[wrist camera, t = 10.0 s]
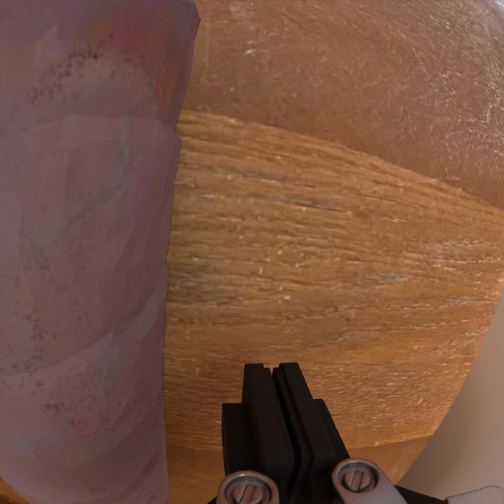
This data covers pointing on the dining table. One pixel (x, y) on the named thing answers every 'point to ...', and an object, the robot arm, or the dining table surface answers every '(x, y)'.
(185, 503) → the dining table surface
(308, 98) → the dining table surface
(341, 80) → the dining table surface
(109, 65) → the brown tapered cylinder
